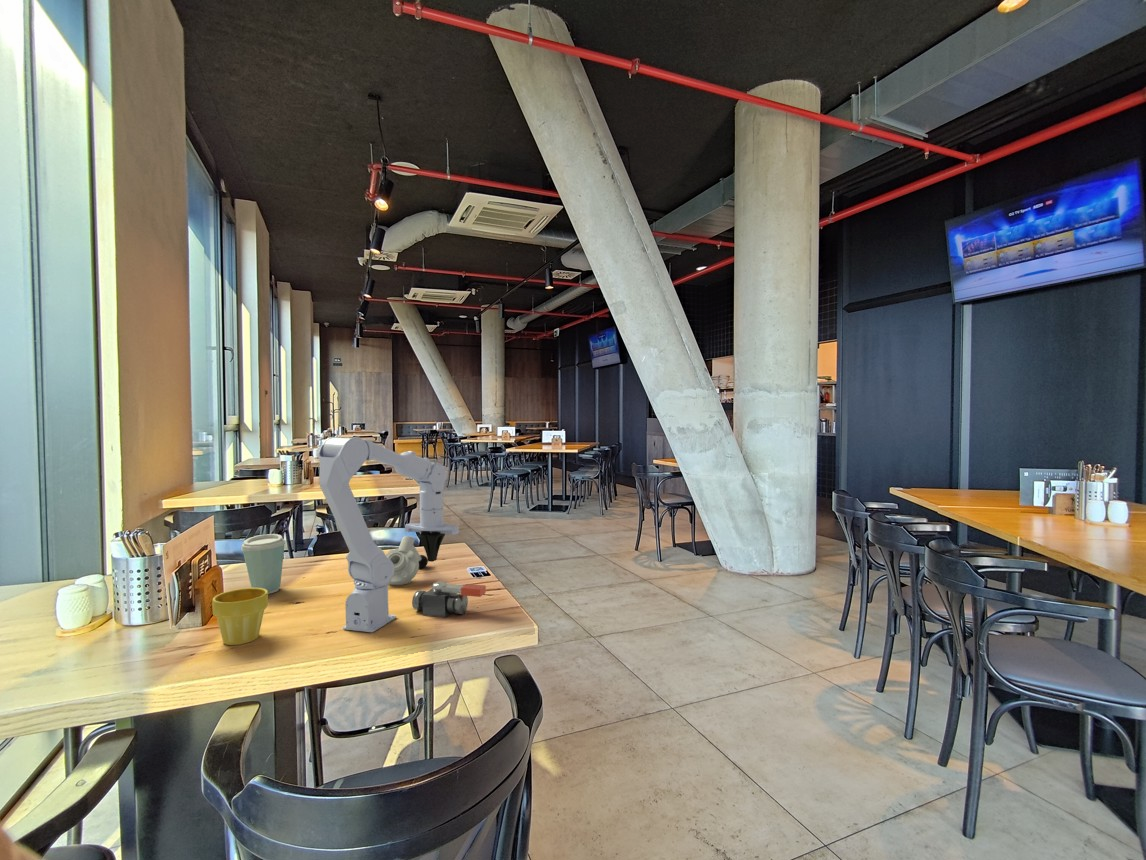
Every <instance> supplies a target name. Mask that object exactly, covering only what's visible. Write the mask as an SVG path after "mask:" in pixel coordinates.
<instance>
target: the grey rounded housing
mask: <svg viewBox="0 0 1146 860" xmlns="http://www.w3.org/2000/svg"><path fill="white" fill-rule="evenodd" d="M400 541H401V542H400V544H399V547H397V548H394V549H389V550H388V552H387V553H386V554H385V555H386V557H387V558H388V559H390V560H391V561H392V562H393V564H394V575H393V577H392V579H391V580H390V582H389V585H392V586H403V585H406V584H410V583H412V580H414V578H415V577H416V576H417V574H418V571H419V569H424V568H425V567H427V565H428V564H429V561H428V558H427V555H423V554H420V553H419V551H418V550H417V549H416V547H415V545H414V543H415V538H414V537H412V536H408V535H404V536H403V537H401V540H400Z"/></svg>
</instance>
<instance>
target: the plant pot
mask: <svg viewBox="0 0 1146 860" xmlns="http://www.w3.org/2000/svg"><path fill="white" fill-rule="evenodd" d="M211 601H212V604H211V605H212V606H211V607H212V615H213V616H215V617H216V620H217V624H218V627H219V631H220V632H219V633H220V634H221V638H222V643H223V644H224V645H227V646H239V645H243V644H247V643H250V642H253V641H255V640H256V639H258V638H259V636H260V632H261V627H262V623H263V622H262V621H263V616H264V613H265V610H266V609H267V608H268V606H269V594H268V591H267V590H266V589H263V588H251V587H243V588H236V589H231V590H227V591H224V592H221V593H219V594H217V595H215V596H214V597H213V598H212V600H211Z"/></svg>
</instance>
